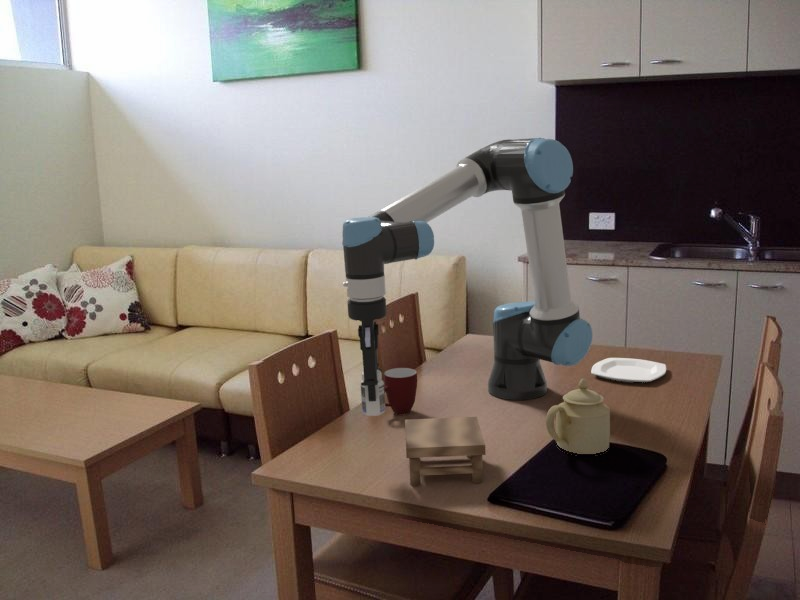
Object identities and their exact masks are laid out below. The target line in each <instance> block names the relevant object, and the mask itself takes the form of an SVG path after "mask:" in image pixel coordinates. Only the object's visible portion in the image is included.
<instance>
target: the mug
mask: <svg viewBox="0 0 800 600" xmlns="http://www.w3.org/2000/svg"><path fill="white" fill-rule="evenodd" d="M383 382H384V392H385V394H386V397H387V399H386V400H387V402H385V407H388V408H389V407H390V408H391V410H392V412H393V413H394V414H396V415H400V416H401V415H407V414H409V413H411V410H412V408H413V407H414V404H415V401H416V397H417V395H416V394H417V389H418V373H417V370H416V369H413V368H409V367H395V368H389V369H387V370H385V371H384V372H383Z"/></svg>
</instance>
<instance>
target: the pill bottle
mask: <svg viewBox="0 0 800 600" xmlns="http://www.w3.org/2000/svg"><path fill="white" fill-rule="evenodd" d="M382 374H383V373H381V371H380V370H377V380H378V385H379V400H380V415H382V414H384V413H385V412H386V406H385V403H386V397H385V394H386V392H384V387H385V385H384V379H382V378H383V376H382ZM361 382H364V370H363V371H362V372H361ZM360 393H361V395H360V396H361V410H362V413H363V414H364V415H366V416H367V413H366V398H365V386H361V385H360Z"/></svg>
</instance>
